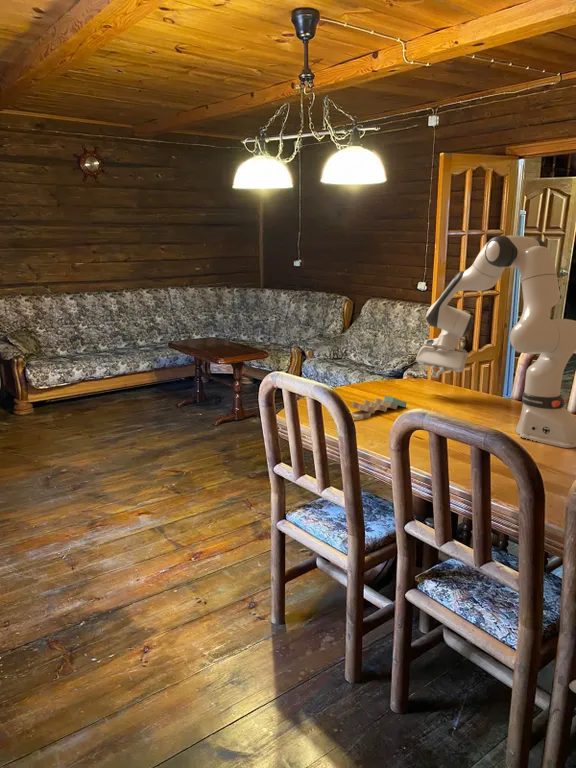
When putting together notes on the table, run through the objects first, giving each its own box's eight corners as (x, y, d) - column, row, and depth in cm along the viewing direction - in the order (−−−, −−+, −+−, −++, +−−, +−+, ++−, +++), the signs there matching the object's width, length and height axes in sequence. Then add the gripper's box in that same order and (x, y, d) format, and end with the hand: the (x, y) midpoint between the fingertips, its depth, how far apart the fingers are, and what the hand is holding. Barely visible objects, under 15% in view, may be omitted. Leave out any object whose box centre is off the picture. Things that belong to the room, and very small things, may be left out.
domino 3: (387, 407, 226) (372, 402, 222) (385, 411, 227) (370, 407, 222) (379, 404, 230) (364, 399, 226) (378, 409, 230) (363, 404, 226)
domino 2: (370, 412, 220) (354, 416, 216) (370, 417, 221) (354, 421, 216) (362, 409, 224) (346, 413, 220) (362, 415, 225) (346, 418, 220)
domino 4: (397, 404, 230) (383, 400, 225) (396, 409, 230) (382, 405, 225) (389, 402, 234) (375, 397, 229) (387, 406, 234) (374, 402, 229)
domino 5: (407, 402, 233) (393, 397, 228) (405, 407, 233) (392, 402, 228) (398, 400, 236) (385, 395, 231) (397, 404, 236) (383, 400, 231)
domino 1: (375, 408, 223) (361, 404, 218) (373, 413, 223) (359, 409, 218) (367, 406, 226) (352, 401, 221) (365, 411, 226) (351, 406, 221)
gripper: (472, 354, 239) (460, 385, 236) (426, 346, 252) (414, 375, 249) (467, 347, 234) (456, 378, 232) (421, 339, 247) (409, 368, 244)
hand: (434, 376), depth 240 cm, fingers closed
